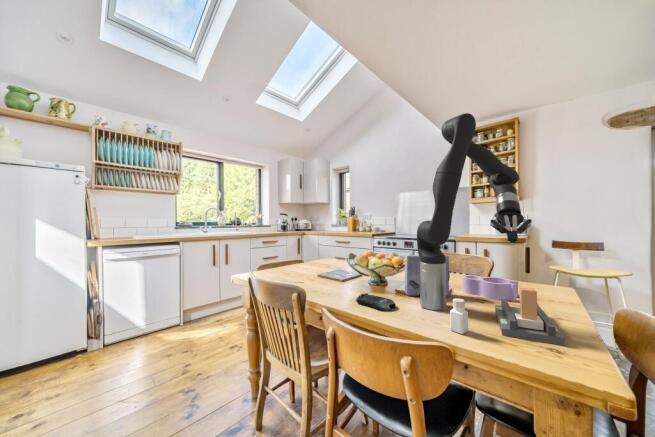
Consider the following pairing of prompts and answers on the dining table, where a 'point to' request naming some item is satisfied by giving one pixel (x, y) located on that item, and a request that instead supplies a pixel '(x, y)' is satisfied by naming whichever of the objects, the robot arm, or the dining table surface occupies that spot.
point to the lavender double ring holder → (491, 287)
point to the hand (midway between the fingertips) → (513, 241)
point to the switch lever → (528, 310)
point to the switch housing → (510, 328)
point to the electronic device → (375, 302)
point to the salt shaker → (458, 317)
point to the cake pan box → (418, 275)
